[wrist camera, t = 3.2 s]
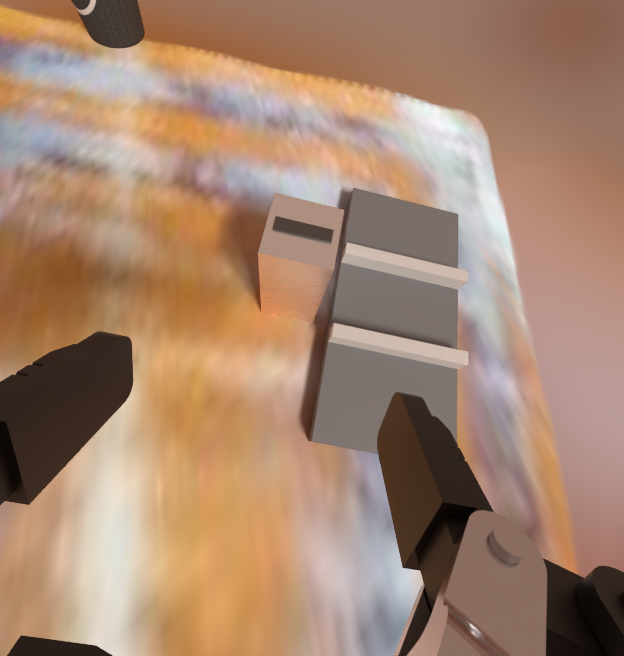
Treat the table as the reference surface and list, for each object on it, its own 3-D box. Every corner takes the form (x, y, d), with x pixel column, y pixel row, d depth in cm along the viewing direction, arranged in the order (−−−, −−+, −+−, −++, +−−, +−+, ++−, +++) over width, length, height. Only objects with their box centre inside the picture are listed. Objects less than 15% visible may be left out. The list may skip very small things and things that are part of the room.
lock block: (261, 311, 28) (257, 251, 19) (272, 266, 30) (274, 191, 21) (312, 323, 29) (334, 269, 19) (321, 277, 31) (344, 208, 21)
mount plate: (308, 440, 25) (314, 442, 22) (348, 201, 34) (357, 176, 31) (443, 466, 26) (469, 471, 23) (448, 225, 35) (467, 203, 32)
